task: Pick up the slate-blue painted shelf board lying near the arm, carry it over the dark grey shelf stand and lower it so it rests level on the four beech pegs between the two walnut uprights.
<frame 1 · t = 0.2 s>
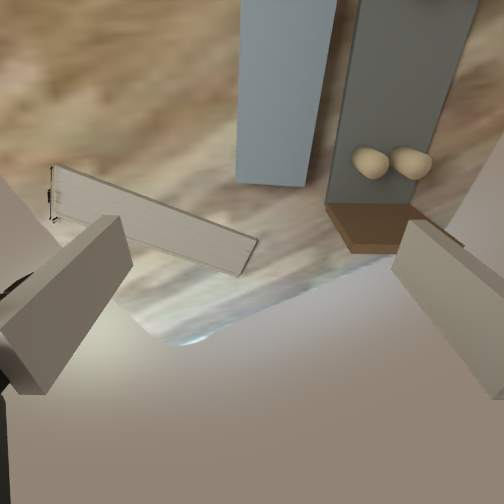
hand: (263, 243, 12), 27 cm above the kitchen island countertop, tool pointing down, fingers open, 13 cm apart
shelf board: (279, 64, 31), on the kitchen island countertop
baseboard: (159, 228, 43), on the kitchen island countertop
peg shelf: (396, 76, 31), on the kitchen island countertop
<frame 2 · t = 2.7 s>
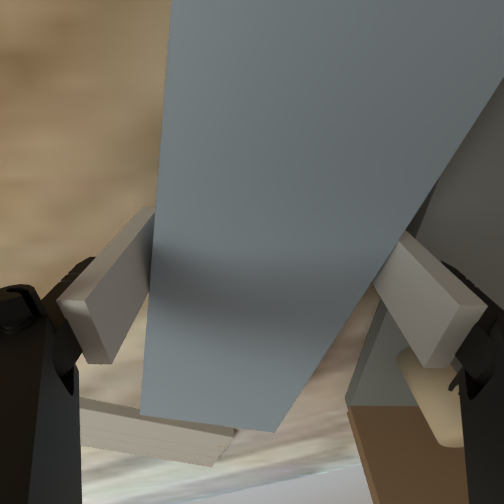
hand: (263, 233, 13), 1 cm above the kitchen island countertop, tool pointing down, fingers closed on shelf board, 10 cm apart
shelf board: (262, 221, 15), on the kitchen island countertop, touching gripper
baseboard: (77, 414, 27), on the kitchen island countertop
when the fingers open (9 cm above the kitchen island countertop, at t = 7.6 s): shelf board drops 1 cm, resting on peg shelf.
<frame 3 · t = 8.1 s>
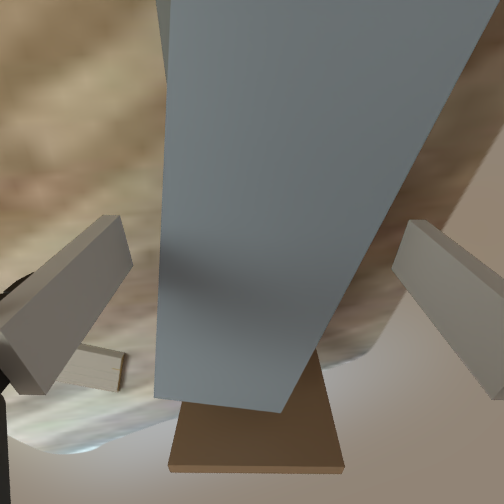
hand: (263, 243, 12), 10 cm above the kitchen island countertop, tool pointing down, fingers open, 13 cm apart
shelf board: (260, 212, 16), point 6 cm above the kitchen island countertop, touching peg shelf
peg shelf: (259, 181, 21), on the kitchen island countertop
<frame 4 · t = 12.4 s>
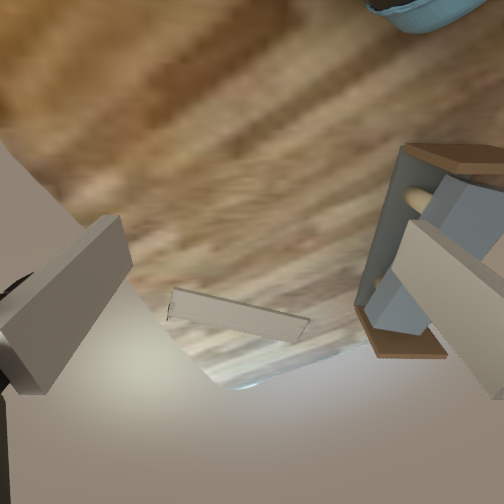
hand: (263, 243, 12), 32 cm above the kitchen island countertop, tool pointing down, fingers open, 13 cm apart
shelf board: (423, 257, 43), point 6 cm above the kitchen island countertop, touching peg shelf
baseboard: (237, 316, 60), on the kitchen island countertop
peg shelf: (405, 239, 48), on the kitchen island countertop
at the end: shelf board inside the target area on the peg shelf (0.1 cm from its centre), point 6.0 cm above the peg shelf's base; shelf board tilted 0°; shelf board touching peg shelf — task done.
